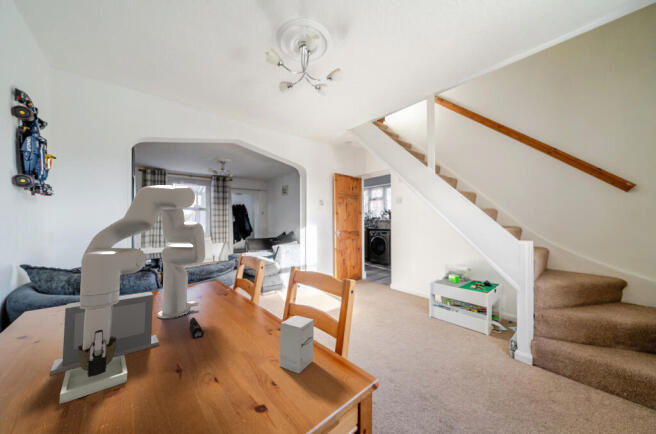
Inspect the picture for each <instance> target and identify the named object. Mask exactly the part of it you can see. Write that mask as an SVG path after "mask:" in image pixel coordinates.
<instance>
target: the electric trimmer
mask: <svg viewBox="0 0 656 434" xmlns="http://www.w3.org/2000/svg"><path fill="white" fill-rule="evenodd" d="M189 330H190V331H191V332H192V333H191V338H192V339H194V340H196V339H199V338H203V337H204V333H205V332H204V329H203V328H202V327H201V324H200V323H199V322H198V320H197V319H196V318H195V317H194V316H193V317H191V319H190V320H189Z"/></svg>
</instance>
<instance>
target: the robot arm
mask: <svg viewBox="0 0 656 434" xmlns="http://www.w3.org/2000/svg"><path fill="white" fill-rule="evenodd" d="M195 194H196V193H195V191H194V190H193V188H191V187H189V186H180V185H179V186H177V185H176V186H175V185H173V186H172V185H147V186H143V187H141V188H139V189H138V190H137V192H136V194H135V196H134V198H133V200H132V202H131V203H130V205H129V207H128V209H127V211H126V213H125V215H123V217H122V218H121V219H118V220H117V221H115V222H113V223H111V224H110V225H108V226H106V227H105V228H103V229H102V230H100V231H99V232H97V234H95V235H94V237H93V238H92V239H91V241H90V242H89V244H88V246H87V247H86V249H85V251H84V253H83V255H82V257H81V258H82V259H81V260H80V261H81V262H80V263H81V270H80V271H81V272H80V273H81V275H80V291H79V292H80V294H79V302H80V308H81V309H85V315H84V329H83V348H82V349H83V350H86V349H88V348H90V346H91V348H90V349H91V350H90V360H89V363H88V377H91V376H95V375H98V374H101V373H104V372H105V371H106V356H105V347H106V345H107V344H108V343H109V340H110V334H111V327H112V314H113V304H116V303H118V302H119V296H120V287H121V285H120V284H121V276H122V275H127V274H133V273H137V272H138V271H140V270H141V269H143V268H144V266H145V264H146V263H147V256H146V254H145V252H144V251H142V250H141V249H138V248H132V247H124V248H123V247H114V246H115V245H116V244H118V243H119V242H121V241H123V240H125V239H128V238H131V237H134V236H138V235H140V234H144V233H145V232H148V231H151V230H152V229H154V228H155V227H154V226H155V225H156V222H157V220H158V217H159V215H160V217H161V226H162V235H163V239H164V241H166V242H167V243H171V244H170V245H167V246H165V247H164V248H163V249H162V251H161V263H162V268H163V271H162V272H163V274H162V277H163V278H162V280H163V281H162V300H161V301H162V303H161V304H162V306H161V310H160V311H159V312H157V317H158V318H160V319H166V320H167V319H174V318H175V317H176V318H180V317H183V316H185V315H184V314H186V315H188V314H189V313H190V312H191V309H192V307H197V306H199V302H198V301H188V283H189V282H188V281H189V279H188V278H189V274H188V271H187V269H186V267H185V266H196V265H197V266H198V265H201V264H203V263H204V262H205V260H206V246H205V245H206V244H205V229H204V227H203V225H202V224H201V223H200V222H197V221H195V222H194V221H186V220H185V212H184V211H185V210H184V209H187V208H190V207H191V206H193V204H194V202H195V199H196V195H195ZM189 311H190V312H189ZM188 312H189V313H188ZM187 313H188V314H187ZM182 315H183V316H182ZM179 316H180V317H179ZM102 342H104V344H102ZM93 344H95V346H93ZM102 347H103V349H101V348H102ZM93 349H95V351H93Z"/></svg>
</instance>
